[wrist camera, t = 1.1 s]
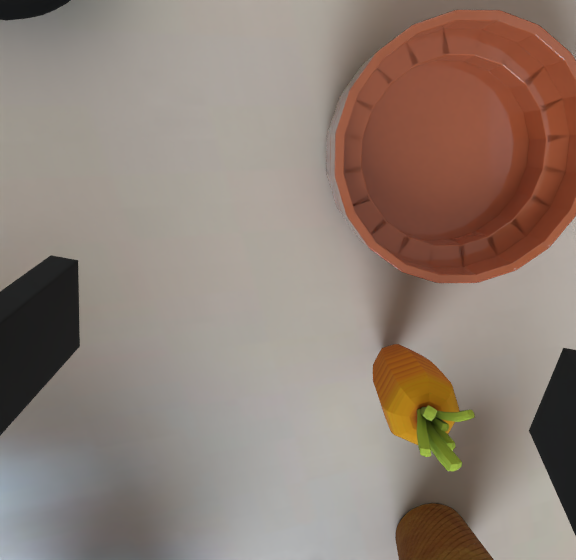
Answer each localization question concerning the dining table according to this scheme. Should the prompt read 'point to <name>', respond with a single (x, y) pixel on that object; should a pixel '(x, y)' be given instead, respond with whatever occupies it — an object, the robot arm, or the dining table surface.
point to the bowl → (458, 146)
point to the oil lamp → (27, 8)
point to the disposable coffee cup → (437, 536)
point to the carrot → (418, 402)
